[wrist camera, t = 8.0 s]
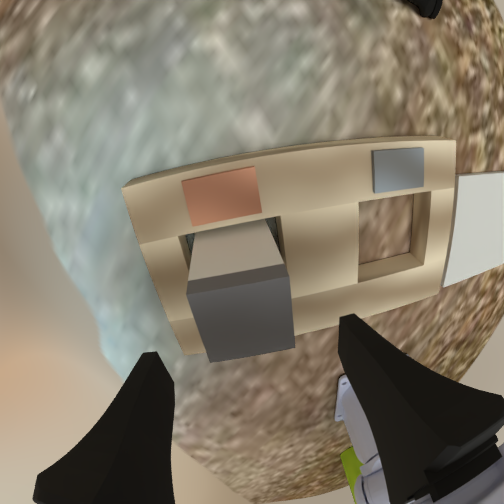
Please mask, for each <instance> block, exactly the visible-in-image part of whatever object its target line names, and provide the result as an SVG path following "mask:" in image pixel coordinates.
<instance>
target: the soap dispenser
mask: <svg viewBox="0 0 504 504" xmlns="http://www.w3.org/2000/svg"><path fill="white" fill-rule="evenodd" d="M340 457H341V461H342V464H343V467H344V470H345V473H346V476H347V479H348V482H349V486H350V489H351V492H352V495H353V498H354V502H355V504H357V503H356V500H355V495H354V485H355V483H356V479H357V477H358V476H359V475H360V474H362V473H361V470H360V467H361V466H363V465H364V464H363V463H362V462H360V461H359V459H358V458H357V456H356V454H355V451H354V448H353V447H351V448H349V449H347V450H345V451H344V452H343V453H341V455H340Z"/></svg>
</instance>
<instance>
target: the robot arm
mask: <svg viewBox="0 0 504 504" xmlns="http://www.w3.org/2000/svg"><path fill="white" fill-rule="evenodd" d="M338 354H339V357H340V360H341V363H342V366H343V368H344V371H345V374H346V375H343V376H341V377H340V378H339V382H338V392H337V401H336V409H335V417H334V419H335V421H341V420H344V423H345V426H346V429H347V431H348V434H349V437H350V440H351V442H352V445H353V448H354V451H355V454H356V456H357V458H358V459H359V461H360V462H362V463H363V464H364V465H363V466H361V467H360V470H361V473H362V474H360V475H359V476H358V477H357V479H356V483H355V485H354V495H355V500H356V503H357V504H504V443H503V444H502V445H501V446H499V447H497V446H496V444H495V443H496V442H497V441H498V438H497V436H496V435H495V434H496V433H497V432H498V431H499V429H500V428H501V427H502V426H503V425H504V398H503V397H502V396H501V395H498V394H494V393H489V392H485V391H481V390H478V389H474V388H472V387H469V386H466V385H463V384H461V383H458V382H456V381H453V380H451V379H449V378H447V377H444V376H442V375H440V374H438V373H436V372H434V371H432V370H430V369H429V368H427V367H425V366H423V365H422V364H420V363H418V362H417V361H415V360H414V359H412V358H411V357H409V355H408V354H405V353H403V352H402V351H400V350H399V349H398V348H396V347H395V346H394V345H392V344H391V343H390V342H389V341H387V340H386V339H385V338H383V337H382V336H381V335H380V334H378V333H377V332H376V331H375V330H374V329H372V328H371V327H370V326H369V325H368V324H366V323H365V322H364V321H363V320H362V319H361V318H359V317H358V316H357V315H356V314H354V313H352V314H349V315H345V316H341V317H339V340H338ZM174 408H175V392H174V381H173V380H172V378H171V376H170V374H169V373H168V371H167V369H166V367H165V366H164V364H163V362H162V360H161V358H160V357H159V355H158V353H157V351H156V352H147V353H143V354H142V355H141V357H140V358H139V360H138V362H137V363H136V365H135V366H134V368H133V370H132V371H131V373H130V375H129V376H128V378H127V379H126V381H125V383H124V384H123V386H122V387H121V389H120V391H119V392H118V394H117V395H116V397H115V398H114V400H113V401H112V403H111V404H110V406H109V407H108V409H107V410H106V411H105V413H104V414H103V415H102V417H101V418H100V419H99V420H98V422H97V423H96V424H95V425H94V426H93V428H92V429H91V430H90V431H89V432H88V433H87V434H86V436H84V437H83V438H82V440H81V441H80V442H79V443H78V444H77V445H76V446H75V447H74V448H72V449H71V450H70V451H69V452H68V453H67V454H66V455H65V456H63V457H62V458H61V459H60V460H58V461H57V462H56V463H54V464H53V465H52V466H50V467H49V468H47V469H46V470H44V471H43V472H41V473H40V474H38V475H37V480H36V484H35V489H34V494H33V501H34V502H35V503H37V504H175V500H174V493H173V484H172V472H171V442H172V431H173V420H174Z"/></svg>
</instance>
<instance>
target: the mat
mask: <svg viewBox="0 0 504 504" xmlns="http://www.w3.org/2000/svg"><path fill="white" fill-rule="evenodd" d="M503 263H504V171H495V172H481V173H469V174H457V175H455V187H454V200H453V211H452V220H451V228H450V235H449V242H448V248H447V254H446V260H445V265H444V270H443V275H442V280H441V284H440V285H441V286H442V287H446V286H449V285H451V284H454V283H457V282H459V281H462V280H464V279H467V278H470V277H472V276H475V275H477V274H480V273H482V272H485V271H487V270H489V269H492V268H494V267H496V266H499V265H501V264H503Z"/></svg>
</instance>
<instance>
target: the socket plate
mask: <svg viewBox="0 0 504 504" xmlns="http://www.w3.org/2000/svg"><path fill="white" fill-rule="evenodd" d="M455 165H456V140H452V139H448V138H444V137H440V136H397V137H377V138H362V139H349V140H338V141H328V142H319V143H311V144H303V145H295V146H288V147H281V148H274V149H268V150H262V151H256V152H250V153H244V154H239V155H233V156H228V157H223V158H218V159H213V160H209V161H204V162H199V163H195V164H190V165H186V166H182V167H178V168H173V169H169V170H165V171H161V172H158V173H154V174H150V175H146V176H143V177H139V178H135V179H132V180H131V181H129V182H128V183H127V184H126V185H125V186H124V187H122V188H121V189H122V193H123V196H124V199H125V203H126V206H127V209H128V212H129V216H130V219H131V222H132V225H133V228H134V231H135V234H136V237H137V240H138V243H139V245H140V248H141V251H142V254H143V257H144V259H145V262H146V265H147V268H148V270H149V273H150V276H151V278H152V281H153V283H154V286H155V288H156V291H157V293H158V296H159V298H160V301H161V303H162V306H163V308H164V310H165V313H166V315H167V317H168V320H169V322H170V324H171V327H172V329H173V331H174V333H175V336H176V338H177V340H178V342H179V344H180V347H181V349H182V351H183V353H184V355H191V354H198V353H205V352H206V350H205V347H204V345H203V342H202V339H201V337H200V334H199V331H198V328H197V325H196V323H195V320H194V317H193V314H192V311H191V308H190V305H189V302H188V299H187V296H186V292H187V284H188V277H189V270H190V263H191V257H192V256H191V253H190V250H189V246H188V243H187V239H186V236H185V234H190V233H195V232H200V231H204V230H209V229H214V228H219V227H224V226H229V225H234V224H239V223H244V222H249V221H254V220H260V219H265V218H270V217H276V224H277V231H278V238H279V246H280V253H281V257H282V260H283V262H284V264H285V267H286V269H287V272H288V274H289V277H290V288H291V299H292V311H293V323H294V336H295V335H299V334H303V333H308V332H312V331H316V330H320V329H324V328H328V327H332V326H336V325H339V317H341V316H345V315H349V314H352V313H354V314H356V315H357V316H358V317H359V318H365V317H368V316H372V315H375V314H378V313H382V312H385V311H388V310H391V309H395V308H398V307H401V306H404V305H407V304H410V303H413V302H416V301H419V300H422V299H425V298H427V297H430V296H433V295H436V294H438V293H439V288H440V284H441V280H442V275H443V270H444V265H445V260H446V254H447V248H448V242H449V235H450V228H451V220H452V211H453V200H454V187H455ZM413 193H414V204H413V221H412V234H411V244H410V252H409V253H406V254H402V255H398V256H394V257H389V258H385V259H381V260H377V261H373V262H369V263H365V264H360V265H358V255H359V208H358V202H361V201H367V200H374V199H380V198H387V197H393V196H400V195H406V194H413Z"/></svg>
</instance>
